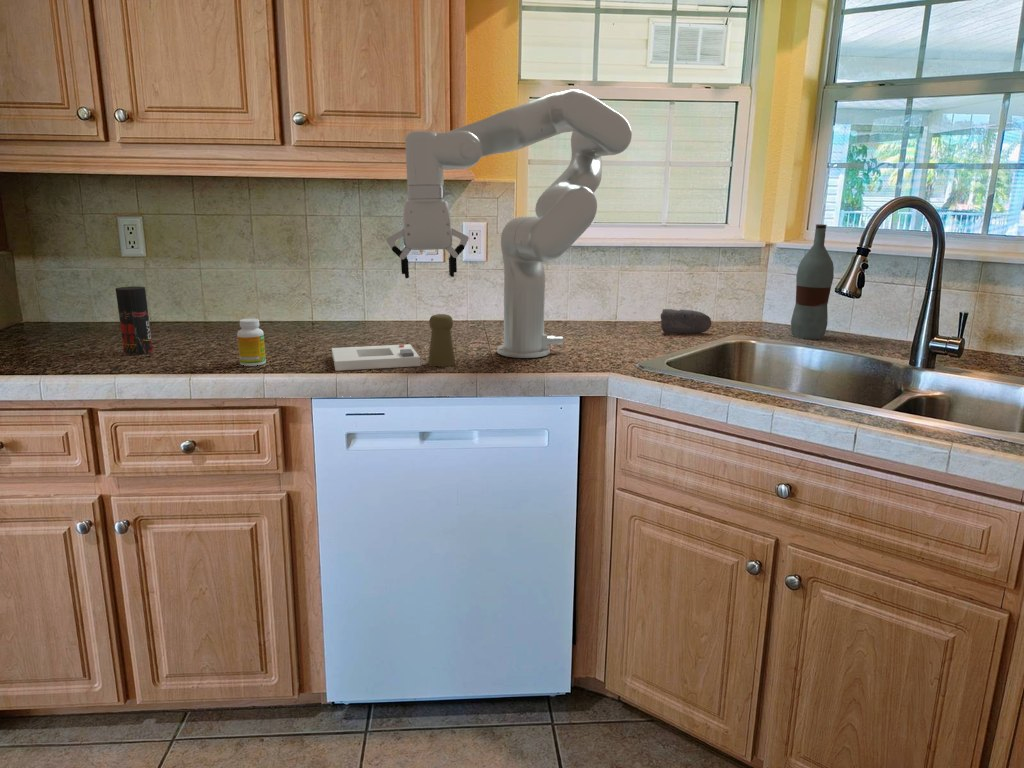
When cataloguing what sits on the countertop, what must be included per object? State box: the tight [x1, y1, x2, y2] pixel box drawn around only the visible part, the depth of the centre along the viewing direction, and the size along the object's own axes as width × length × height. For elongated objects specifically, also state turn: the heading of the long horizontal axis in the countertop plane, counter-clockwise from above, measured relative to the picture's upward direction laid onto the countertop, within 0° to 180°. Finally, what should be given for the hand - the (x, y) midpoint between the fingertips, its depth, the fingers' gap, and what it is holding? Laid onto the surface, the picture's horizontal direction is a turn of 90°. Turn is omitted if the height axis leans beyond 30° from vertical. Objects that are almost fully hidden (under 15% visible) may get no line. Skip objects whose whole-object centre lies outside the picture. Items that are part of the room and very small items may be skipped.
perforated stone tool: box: [660, 308, 712, 335], centre depth 191 cm, size 15×5×7 cm, turn 94°
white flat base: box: [331, 343, 421, 372], centre depth 155 cm, size 18×14×3 cm
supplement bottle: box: [236, 318, 267, 367], centre depth 150 cm, size 5×5×10 cm
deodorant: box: [115, 285, 154, 356], centre depth 159 cm, size 6×6×15 cm
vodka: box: [790, 223, 835, 340], centre depth 185 cm, size 9×9×30 cm
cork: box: [427, 313, 456, 368], centre depth 152 cm, size 6×6×11 cm
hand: (429, 276), depth 149 cm, fingers open, 9 cm apart
